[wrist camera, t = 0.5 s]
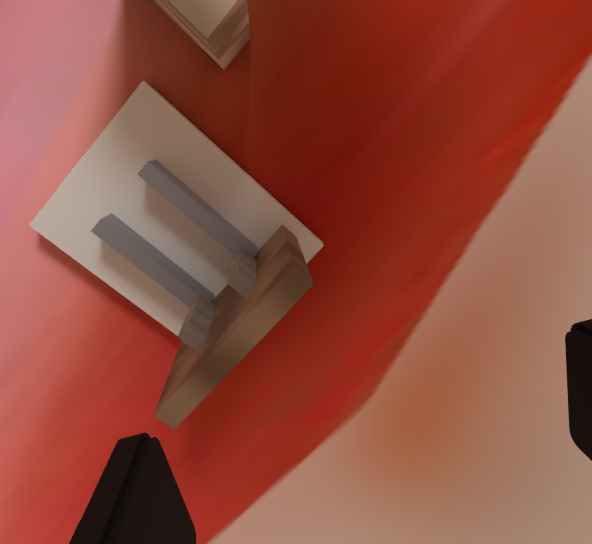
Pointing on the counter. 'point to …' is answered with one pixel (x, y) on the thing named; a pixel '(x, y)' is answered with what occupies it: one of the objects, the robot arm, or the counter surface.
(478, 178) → the counter surface
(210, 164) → the white tile with rails
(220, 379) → the cabinet side
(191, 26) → the beige rectangular block
